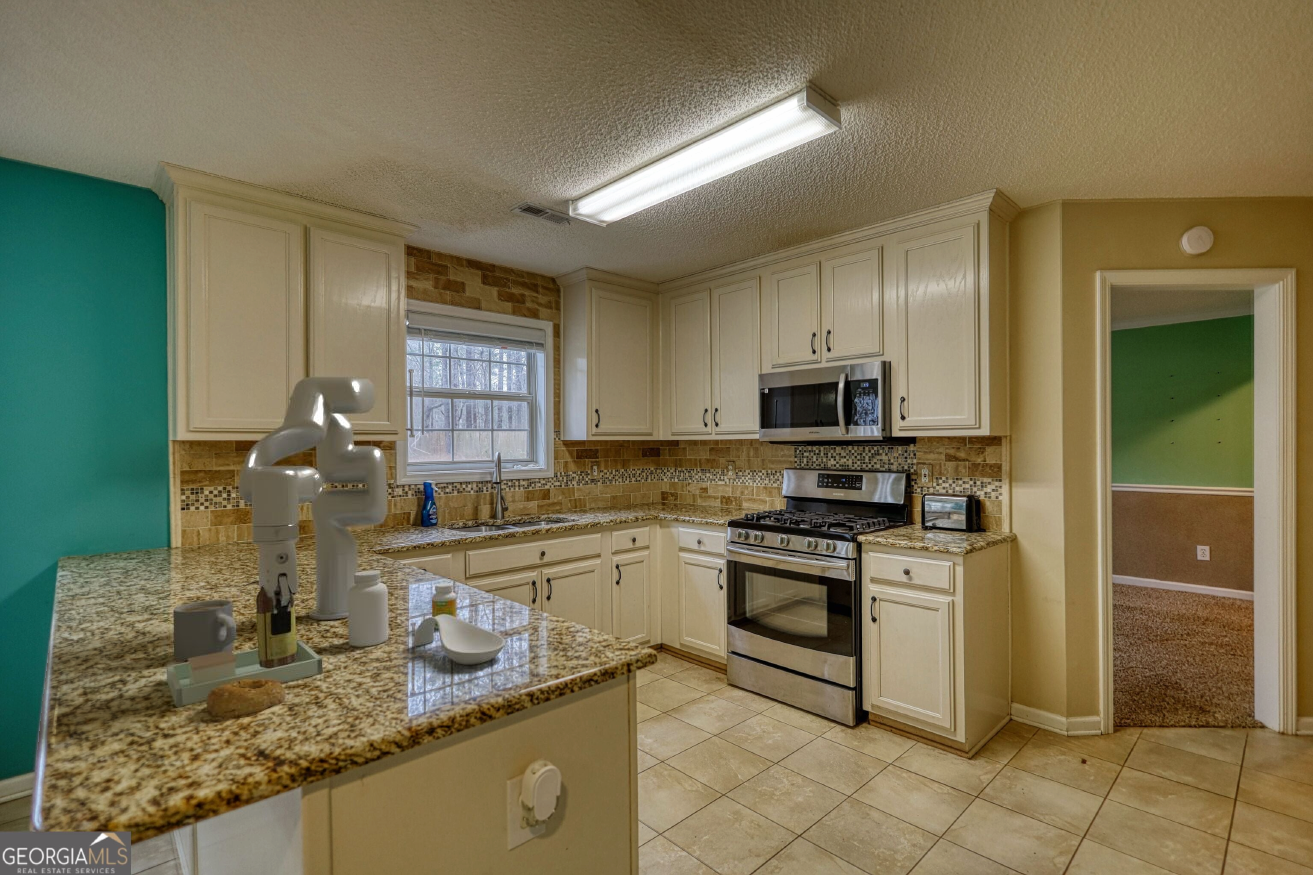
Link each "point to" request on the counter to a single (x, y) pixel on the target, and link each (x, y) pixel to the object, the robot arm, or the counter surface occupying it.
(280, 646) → the sauce bottle
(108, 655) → the counter surface
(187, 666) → the pale green tray
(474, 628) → the spoon rest
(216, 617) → the coffee mug
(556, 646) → the counter surface
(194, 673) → the pink lidded box
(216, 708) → the bagel
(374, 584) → the pill bottle
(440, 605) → the supplement bottle
